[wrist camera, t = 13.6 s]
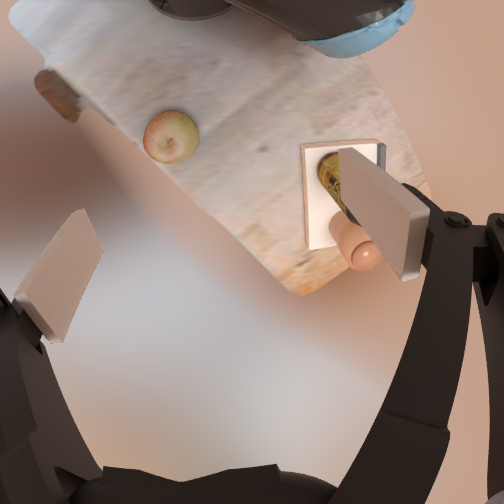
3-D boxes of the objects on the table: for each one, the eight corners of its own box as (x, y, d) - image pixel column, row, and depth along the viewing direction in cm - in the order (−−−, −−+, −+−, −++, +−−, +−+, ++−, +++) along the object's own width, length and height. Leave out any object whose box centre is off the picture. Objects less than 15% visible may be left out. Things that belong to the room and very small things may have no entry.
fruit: (189, 100, 38) (183, 106, 32) (206, 145, 43) (203, 160, 36) (142, 120, 39) (127, 130, 32) (160, 162, 43) (149, 180, 37)
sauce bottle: (309, 161, 43) (364, 225, 26) (344, 143, 42) (418, 197, 25) (325, 196, 46) (379, 272, 30) (358, 179, 45) (426, 246, 29)
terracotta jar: (328, 211, 48) (350, 244, 40) (361, 207, 48) (388, 237, 40) (328, 242, 51) (348, 277, 43) (359, 237, 51) (383, 270, 43)
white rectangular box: (300, 144, 44) (306, 150, 41) (376, 139, 44) (386, 145, 41) (305, 242, 54) (311, 253, 51) (371, 231, 54) (379, 242, 51)
